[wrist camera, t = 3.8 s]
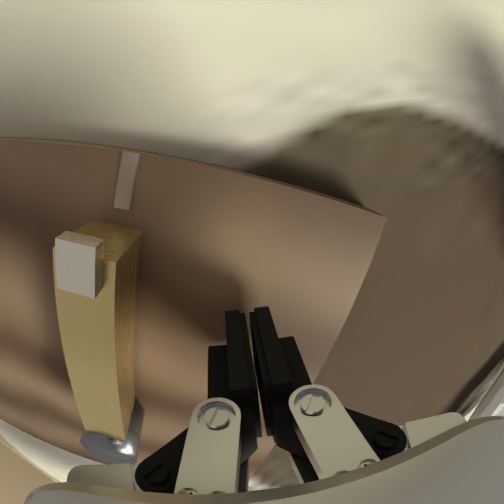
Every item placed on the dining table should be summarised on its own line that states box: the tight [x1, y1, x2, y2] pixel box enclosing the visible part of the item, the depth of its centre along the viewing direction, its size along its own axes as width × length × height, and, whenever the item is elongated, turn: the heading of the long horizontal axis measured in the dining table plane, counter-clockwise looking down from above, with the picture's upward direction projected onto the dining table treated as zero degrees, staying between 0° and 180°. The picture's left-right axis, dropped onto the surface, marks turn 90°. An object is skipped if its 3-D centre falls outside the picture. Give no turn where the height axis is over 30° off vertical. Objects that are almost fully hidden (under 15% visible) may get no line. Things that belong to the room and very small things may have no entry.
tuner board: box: [0, 137, 387, 479], centre depth 13 cm, size 24×26×2 cm
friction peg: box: [53, 220, 145, 465], centre depth 9 cm, size 12×3×4 cm, turn 165°
